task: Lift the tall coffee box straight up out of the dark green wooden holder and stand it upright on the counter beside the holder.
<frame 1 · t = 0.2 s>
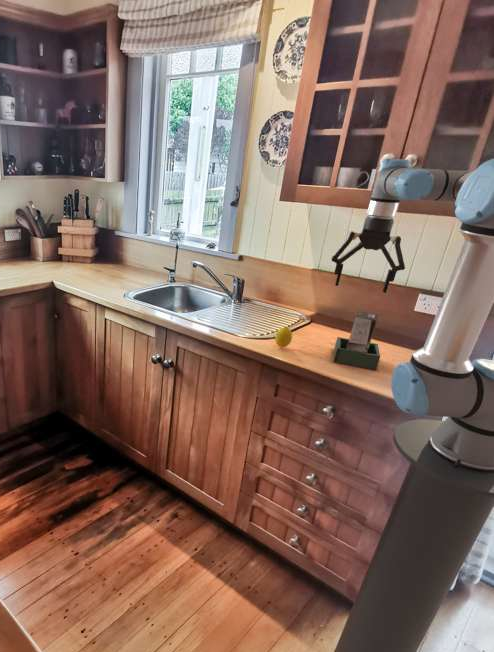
hand: (359, 288, 145), 26 cm above the worktop, tool pointing down, fingers open, 13 cm apart
lemon: (281, 348, 166), on the worktop
coffee box: (353, 360, 160), resting in holder
holder: (353, 359, 160), on the worktop
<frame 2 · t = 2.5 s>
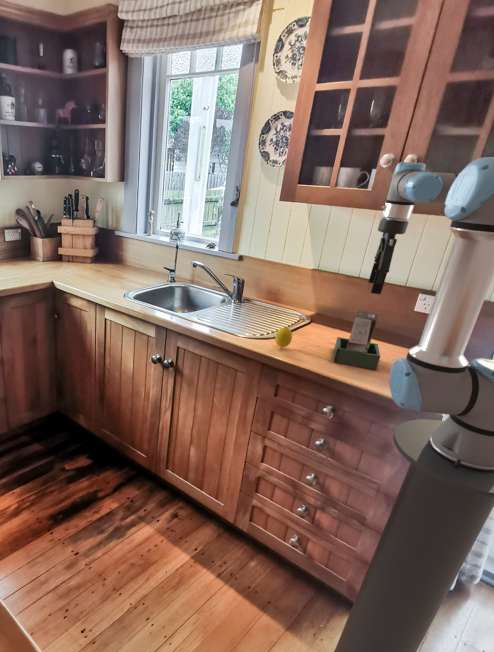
hand: (374, 288, 148), 25 cm above the worktop, tool pointing down, fingers open, 13 cm apart
nothing on the worktop moved.
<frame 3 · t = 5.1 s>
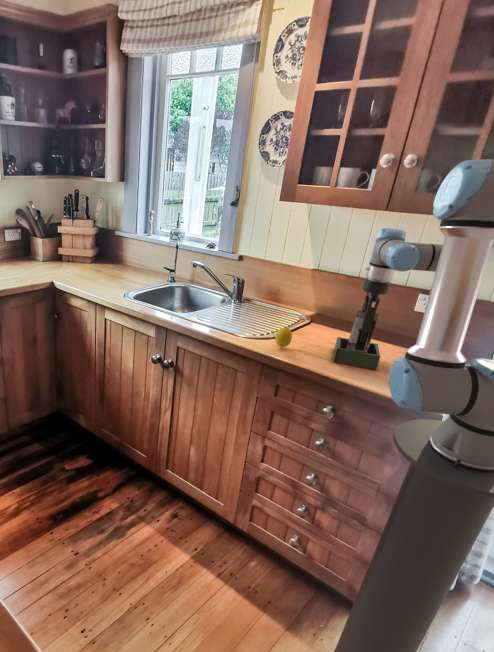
hand: (358, 344, 157), 6 cm above the worktop, tool pointing down, fingers closed on coffee box, 9 cm apart
coffee box: (353, 360, 160), resting in holder, touching gripper
everything else where it was.
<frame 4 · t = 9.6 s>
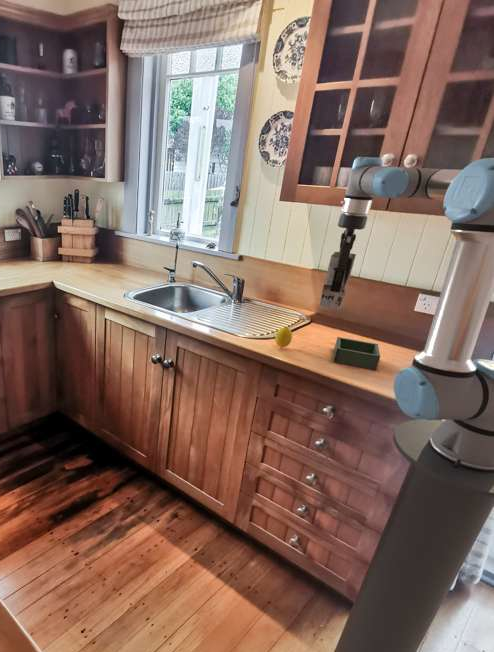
hand: (335, 287, 148), 25 cm above the worktop, tool pointing down, fingers closed on coffee box, 9 cm apart
coffee box: (330, 305, 151), point 19 cm above the worktop, touching gripper
everything else where it was.
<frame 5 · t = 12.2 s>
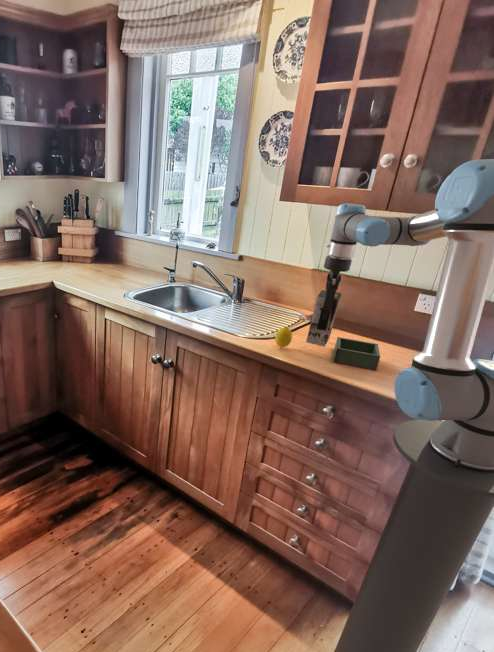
hand: (321, 324, 154), 12 cm above the worktop, tool pointing down, fingers closed on coffee box, 9 cm apart
coffee box: (317, 341, 156), point 6 cm above the worktop, touching gripper
everything else where it was.
when the fingers open (6 cm above the worktop, at t = 14.2 s): coffee box stays where it is, on the worktop.
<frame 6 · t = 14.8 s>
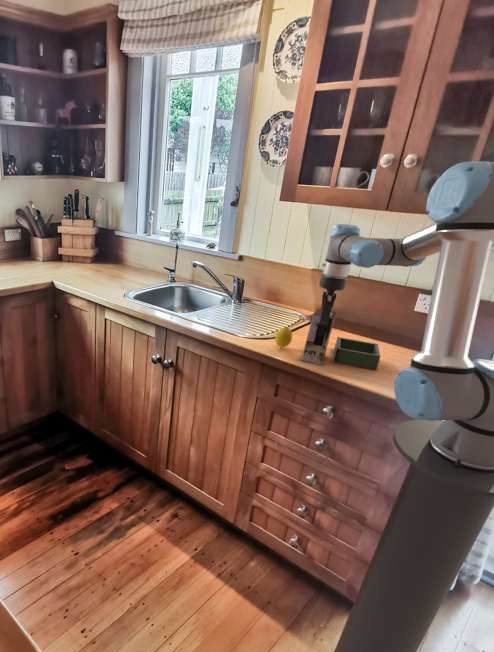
hand: (318, 338, 156), 7 cm above the worktop, tool pointing down, fingers open, 13 cm apart
coffee box: (313, 358, 159), on the worktop
everything else where it was.
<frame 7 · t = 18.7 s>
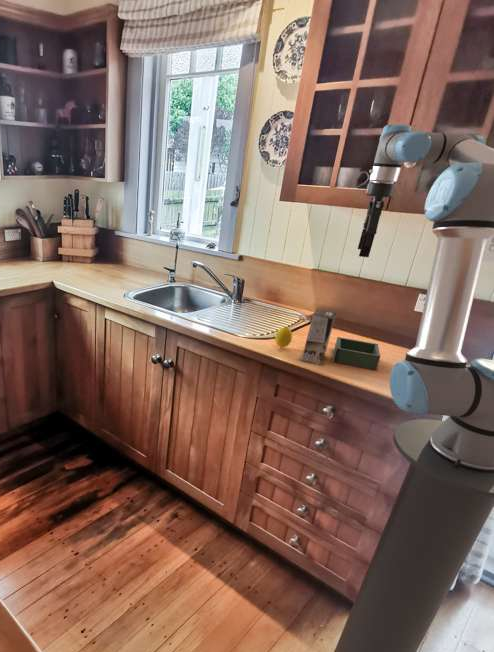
hand: (362, 253, 150), 35 cm above the worktop, tool pointing down, fingers open, 13 cm apart
nothing on the worktop moved.
at the end: coffee box inside the target area (0.4 cm from its centre), on the worktop; coffee box tilted 0° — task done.
